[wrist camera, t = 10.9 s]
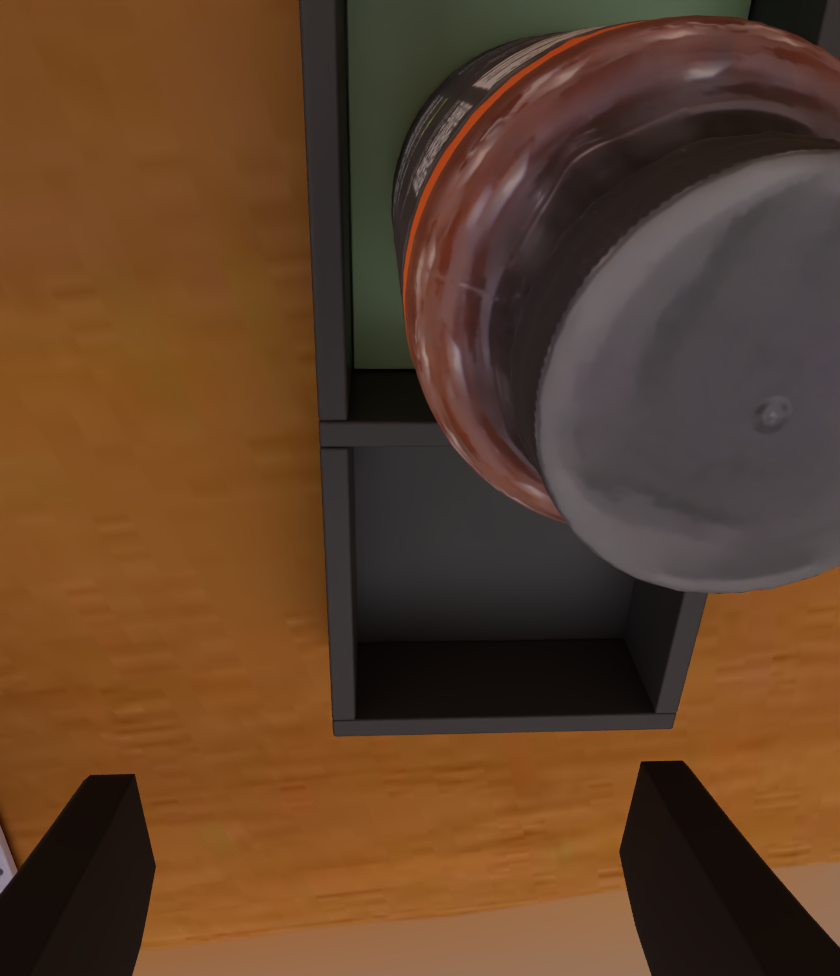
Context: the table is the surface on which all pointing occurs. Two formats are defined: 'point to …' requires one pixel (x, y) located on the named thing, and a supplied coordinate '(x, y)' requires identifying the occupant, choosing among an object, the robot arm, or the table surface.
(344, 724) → the box
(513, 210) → the supplement bottle
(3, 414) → the table surface
